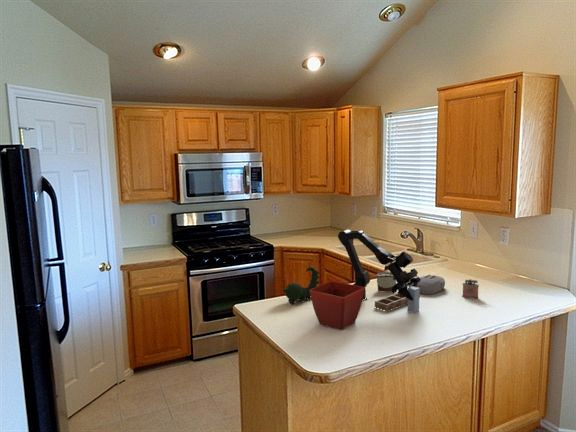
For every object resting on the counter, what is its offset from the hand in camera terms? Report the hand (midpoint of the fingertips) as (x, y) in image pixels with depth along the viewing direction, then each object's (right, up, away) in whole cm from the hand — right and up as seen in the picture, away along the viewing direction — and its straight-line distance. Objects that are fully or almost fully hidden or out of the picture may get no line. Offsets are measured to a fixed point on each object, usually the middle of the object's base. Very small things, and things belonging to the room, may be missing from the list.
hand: (415, 299), depth 208 cm
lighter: (+36, -3, +20) cm, 41 cm away
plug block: (-1, -6, +2) cm, 7 cm away
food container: (-7, -2, +36) cm, 36 cm away
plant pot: (-40, -9, -11) cm, 43 cm away
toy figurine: (-56, -5, +21) cm, 60 cm away
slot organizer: (-8, -5, +11) cm, 15 cm away
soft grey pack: (+18, -2, +34) cm, 39 cm away
